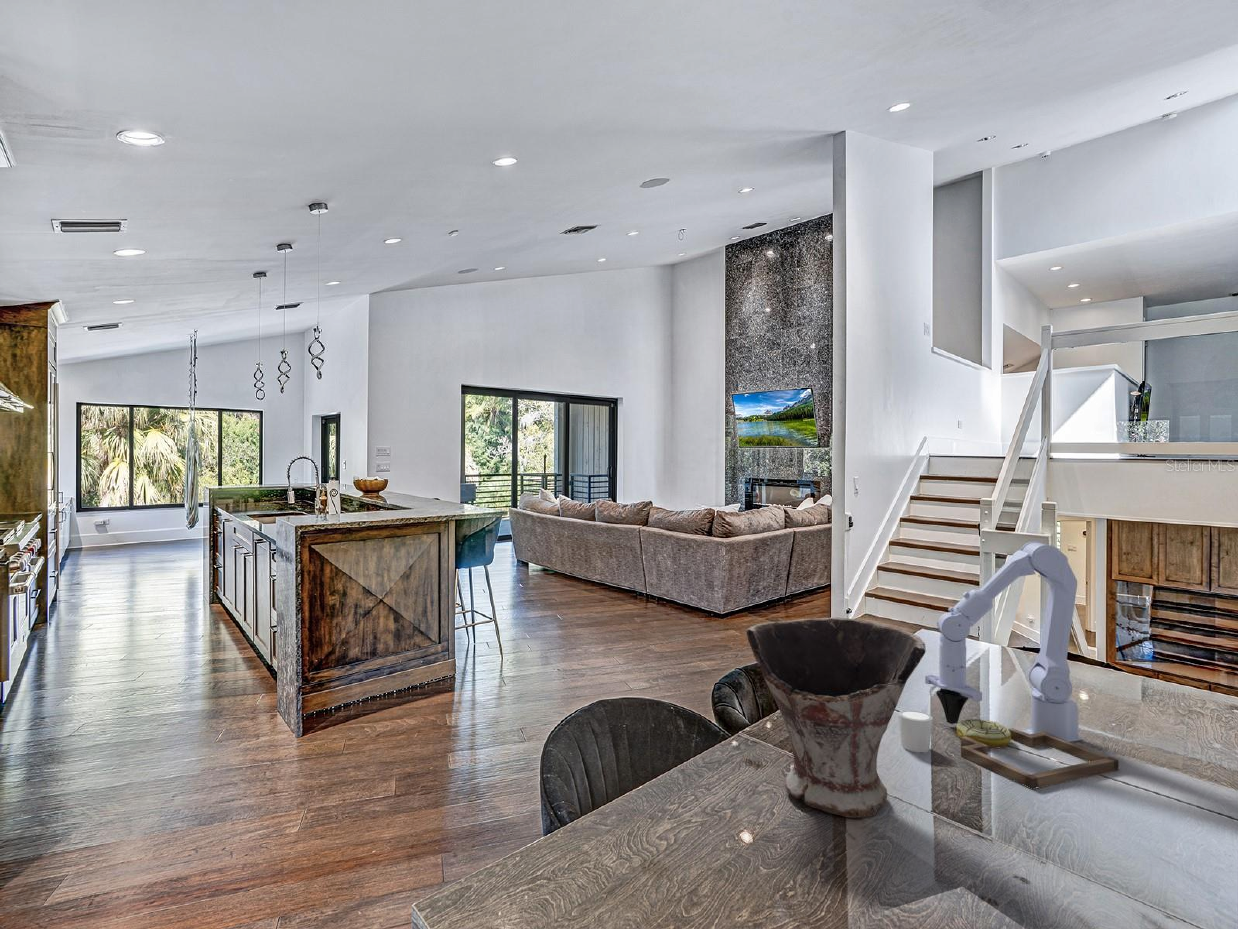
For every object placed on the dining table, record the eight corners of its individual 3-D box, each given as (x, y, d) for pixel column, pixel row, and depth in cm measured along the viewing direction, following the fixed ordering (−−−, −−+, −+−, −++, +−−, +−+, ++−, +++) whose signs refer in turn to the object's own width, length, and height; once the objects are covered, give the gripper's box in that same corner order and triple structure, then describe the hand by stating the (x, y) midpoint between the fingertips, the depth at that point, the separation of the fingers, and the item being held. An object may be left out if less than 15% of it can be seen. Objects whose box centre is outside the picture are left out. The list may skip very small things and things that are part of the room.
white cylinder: (936, 755, 143) (936, 722, 143) (901, 752, 144) (902, 719, 144) (928, 743, 150) (928, 711, 150) (895, 740, 151) (895, 708, 151)
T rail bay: (945, 749, 146) (945, 739, 146) (1026, 734, 156) (1026, 725, 156) (1032, 789, 128) (1032, 778, 128) (1118, 770, 137) (1118, 760, 137)
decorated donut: (953, 729, 159) (953, 713, 159) (1005, 736, 155) (1005, 719, 155) (960, 746, 149) (960, 728, 149) (1015, 753, 145) (1015, 735, 145)
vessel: (728, 771, 134) (730, 618, 134) (835, 751, 144) (837, 610, 145) (830, 848, 106) (833, 656, 107) (954, 816, 117) (955, 642, 117)
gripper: (915, 658, 165) (915, 714, 165) (966, 675, 152) (965, 735, 151) (937, 656, 168) (937, 711, 168) (989, 672, 154) (988, 732, 154)
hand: (952, 722), depth 160 cm, fingers closed
